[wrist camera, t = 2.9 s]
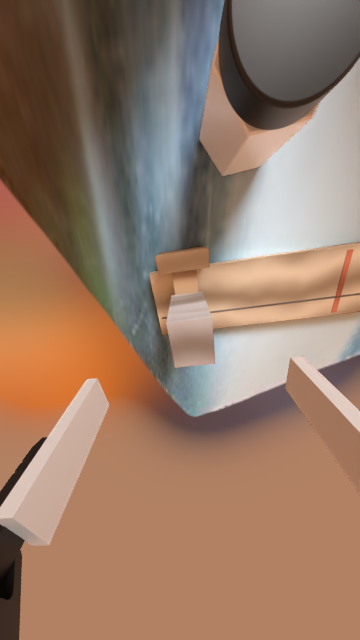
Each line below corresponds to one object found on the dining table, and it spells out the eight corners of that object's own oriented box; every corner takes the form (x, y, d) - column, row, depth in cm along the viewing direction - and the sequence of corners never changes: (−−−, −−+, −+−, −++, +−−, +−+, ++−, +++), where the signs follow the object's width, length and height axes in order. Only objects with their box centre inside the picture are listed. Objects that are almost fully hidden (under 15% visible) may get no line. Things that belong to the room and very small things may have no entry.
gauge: (161, 252, 25) (141, 266, 13) (202, 246, 24) (221, 254, 12) (175, 333, 30) (170, 393, 19) (209, 329, 30) (226, 388, 18)
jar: (291, 135, 19) (430, 5, 8) (231, 194, 22) (279, 151, 11) (248, 41, 16) (374, -333, 6) (185, 121, 19) (188, -36, 8)
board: (151, 271, 26) (149, 274, 24) (392, 237, 24) (410, 237, 22) (163, 328, 30) (162, 334, 28) (368, 304, 28) (381, 309, 26)
